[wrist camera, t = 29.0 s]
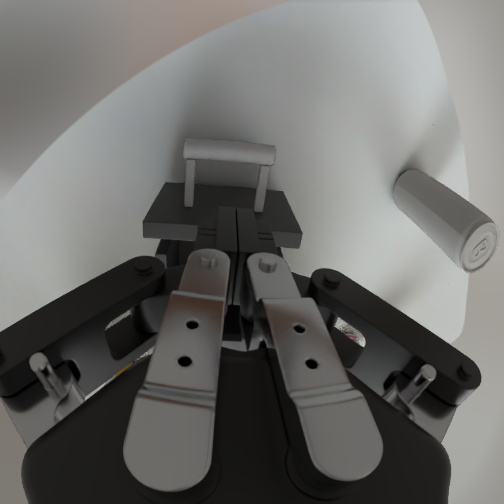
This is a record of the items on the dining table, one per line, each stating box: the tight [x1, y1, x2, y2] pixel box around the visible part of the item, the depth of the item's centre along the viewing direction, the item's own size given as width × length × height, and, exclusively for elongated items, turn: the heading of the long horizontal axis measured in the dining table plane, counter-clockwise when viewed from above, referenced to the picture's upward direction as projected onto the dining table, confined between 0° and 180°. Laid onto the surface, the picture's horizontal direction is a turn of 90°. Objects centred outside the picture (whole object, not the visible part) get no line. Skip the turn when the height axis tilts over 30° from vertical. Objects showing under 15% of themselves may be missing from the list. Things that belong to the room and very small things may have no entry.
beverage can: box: [393, 169, 499, 273], centre depth 22 cm, size 5×5×12 cm
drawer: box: [143, 138, 303, 335], centre depth 24 cm, size 17×10×8 cm, turn 173°
